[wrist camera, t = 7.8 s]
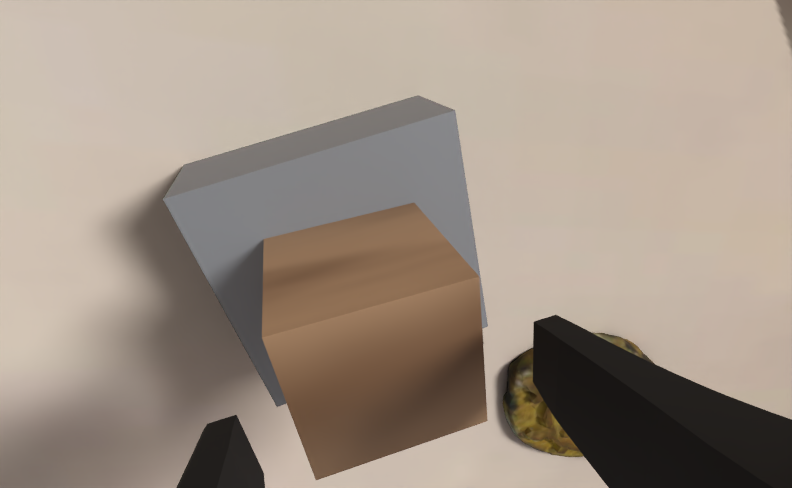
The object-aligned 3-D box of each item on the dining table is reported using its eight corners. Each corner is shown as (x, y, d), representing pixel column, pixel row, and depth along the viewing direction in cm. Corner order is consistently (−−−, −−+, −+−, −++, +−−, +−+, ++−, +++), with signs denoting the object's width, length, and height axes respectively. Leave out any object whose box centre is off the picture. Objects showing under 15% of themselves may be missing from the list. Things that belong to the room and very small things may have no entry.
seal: (452, 405, 27) (596, 447, 33) (479, 477, 23) (636, 510, 29) (552, 299, 23) (689, 369, 30) (603, 362, 19) (749, 427, 26)
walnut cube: (429, 319, 16) (487, 420, 12) (302, 356, 16) (316, 480, 11) (414, 202, 14) (479, 276, 10) (263, 238, 13) (261, 338, 9)
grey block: (451, 278, 21) (488, 326, 18) (274, 341, 20) (276, 406, 16) (415, 94, 17) (455, 110, 13) (185, 162, 15) (163, 199, 12)
